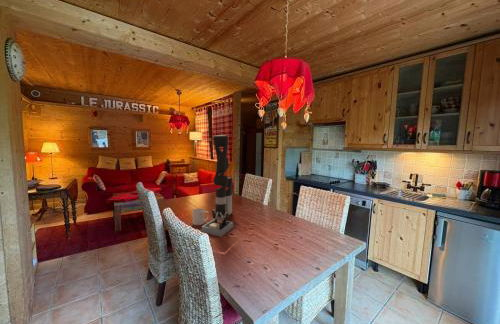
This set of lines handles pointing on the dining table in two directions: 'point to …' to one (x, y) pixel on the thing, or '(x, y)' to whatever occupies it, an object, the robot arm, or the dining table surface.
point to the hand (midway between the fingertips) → (220, 224)
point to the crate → (215, 231)
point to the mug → (198, 216)
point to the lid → (214, 224)
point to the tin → (220, 221)
